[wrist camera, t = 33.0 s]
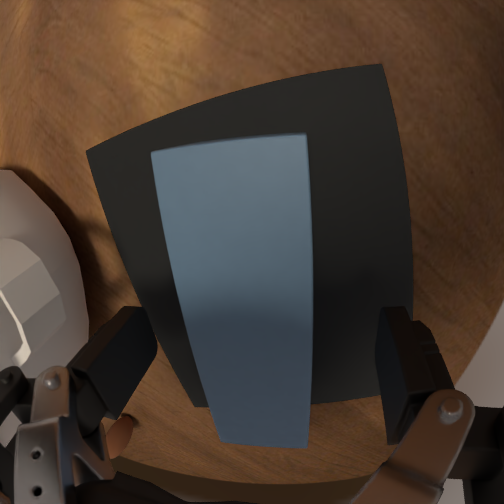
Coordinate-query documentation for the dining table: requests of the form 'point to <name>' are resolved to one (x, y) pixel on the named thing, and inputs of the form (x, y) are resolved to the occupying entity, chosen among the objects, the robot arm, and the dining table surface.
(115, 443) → the egg
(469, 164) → the dining table surface
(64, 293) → the pot
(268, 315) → the blue pillar
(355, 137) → the mat
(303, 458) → the dining table surface
